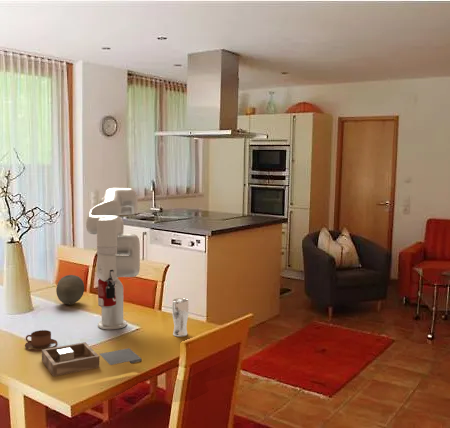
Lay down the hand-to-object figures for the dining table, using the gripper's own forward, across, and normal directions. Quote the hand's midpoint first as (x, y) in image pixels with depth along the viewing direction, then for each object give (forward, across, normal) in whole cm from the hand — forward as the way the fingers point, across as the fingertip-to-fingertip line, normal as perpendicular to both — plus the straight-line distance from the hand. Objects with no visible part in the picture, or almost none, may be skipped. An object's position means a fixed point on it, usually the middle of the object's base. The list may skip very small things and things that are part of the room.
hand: (107, 295), depth 200 cm
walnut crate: (+22, +9, -17) cm, 29 cm away
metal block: (+21, +6, -18) cm, 28 cm away
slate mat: (+22, +11, +1) cm, 24 cm away
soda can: (+5, 0, 0) cm, 5 cm away
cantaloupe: (+22, -68, +4) cm, 71 cm away
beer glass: (+22, -2, +33) cm, 40 cm away
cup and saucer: (+22, -14, -22) cm, 34 cm away
